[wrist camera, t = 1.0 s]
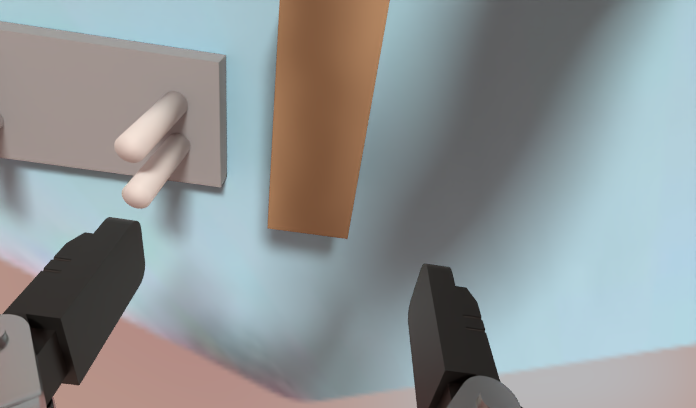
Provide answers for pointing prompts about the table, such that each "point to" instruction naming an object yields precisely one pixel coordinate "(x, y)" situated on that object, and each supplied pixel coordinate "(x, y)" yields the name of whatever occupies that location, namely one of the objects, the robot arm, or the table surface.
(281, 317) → the table surface
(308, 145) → the brown wooden block
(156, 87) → the peg rack
